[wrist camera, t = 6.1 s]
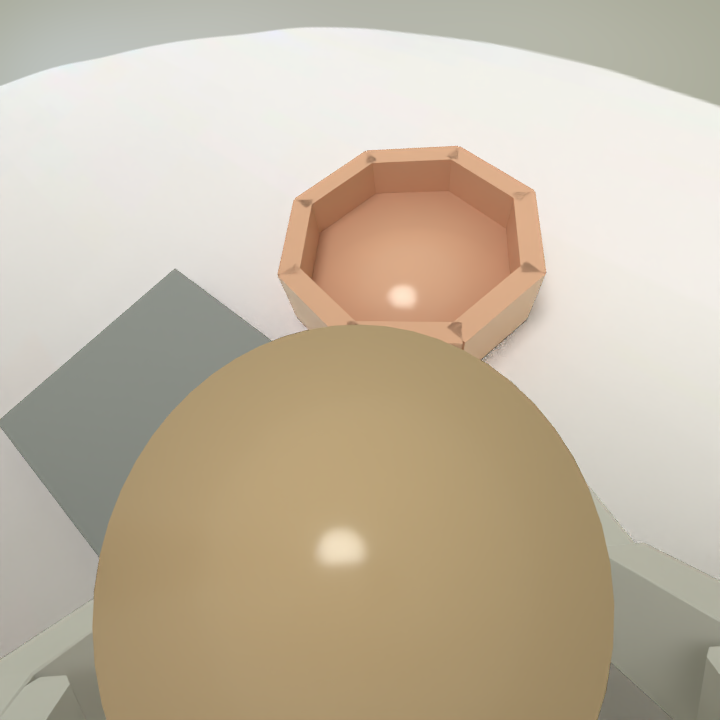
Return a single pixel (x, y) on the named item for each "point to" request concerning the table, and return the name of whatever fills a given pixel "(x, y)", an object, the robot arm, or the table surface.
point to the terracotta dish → (416, 247)
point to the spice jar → (354, 546)
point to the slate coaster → (122, 396)
